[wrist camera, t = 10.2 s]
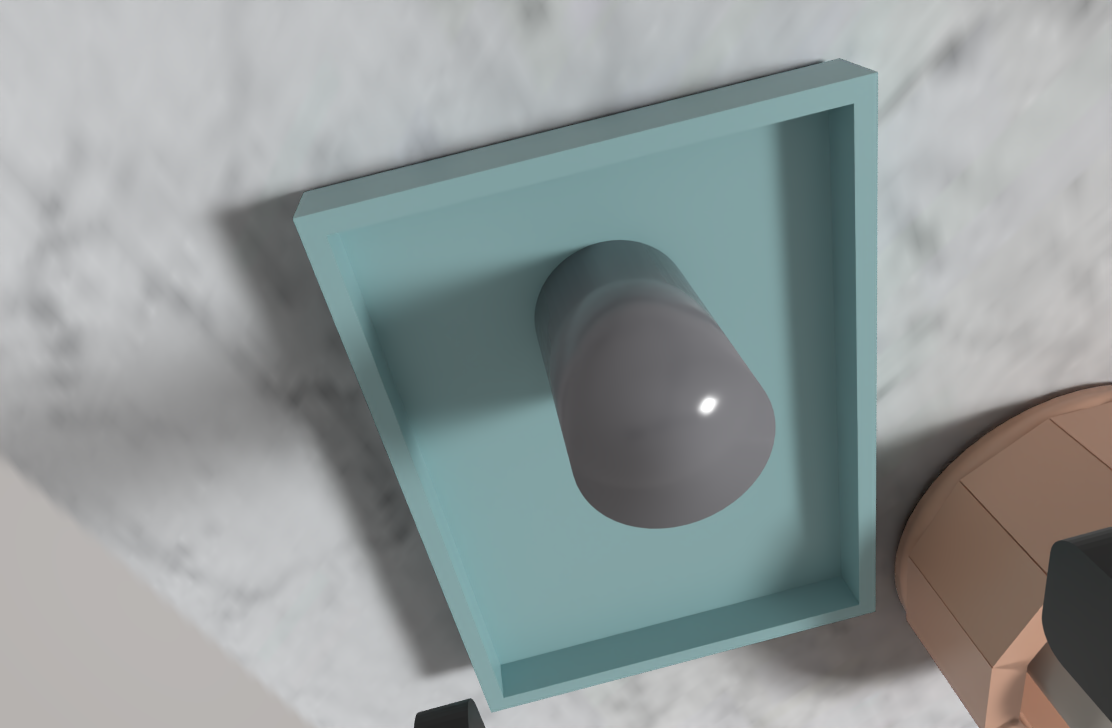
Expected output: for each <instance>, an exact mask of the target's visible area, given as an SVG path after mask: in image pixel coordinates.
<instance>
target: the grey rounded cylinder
mask: <svg viewBox="0 0 1112 728" xmlns="http://www.w3.org/2000/svg"><path fill="white" fill-rule="evenodd" d="M534 321H535V330H536V335H537V339H538V343H539V347H540V351H541V354H542V358H543V362H544V366H545V370H546V373H547V377H548V381H549V385H550V389H551V393H552V396H553V400H554V404H555V408H556V412H557V415H558V419H559V423H560V427H561V431H562V435H563V438H564V442H565V446H566V450H567V454H568V457H569V461H570V465H571V469H572V473H573V476H574V479H575V482H576V485H577V487H578V488H579V490H580V492H581V494H582V495H583V496H584V498H585V499H586V500H587V502H588V503H589V504H590V505H591V506H592V507H594V508H595V509H596V510H597V511H598V512H600V513H601V514H603V515H604V516H606V517H608V518H610V519H612V520H614V521H616V522H619V523H622V524H625V525H629V526H633V527H638V528H647V529H663V528H673V527H678V526H683V525H688V524H691V523H694V522H697V521H700V520H702V519H705V518H707V517H710V516H712V515H714V514H716V513H717V512H719V511H721V510H723V509H724V508H726V507H727V506H729V505H730V504H732V503H733V502H734V501H736V500H737V499H738V498H739V497H741V496H742V495H743V494H744V493H745V492H746V491H747V490H748V489H749V488H750V487H751V486H752V485H753V483H754V482H755V481H756V479H757V478H758V477H759V476H760V474H761V472H762V471H763V469H764V467H765V466H766V464H767V462H768V459H769V457H770V455H771V452H772V448H773V445H774V439H775V429H776V422H775V416H774V410H773V408H772V405H771V402H770V400H769V398H768V396H767V394H766V392H765V391H764V389H763V388H762V386H761V385H760V383H759V382H758V381H757V379H756V378H755V376H754V375H753V373H752V372H751V371H750V369H749V368H748V366H747V365H746V364H745V362H744V361H743V359H742V358H741V356H740V355H739V354H738V352H737V351H736V349H735V348H734V346H733V345H732V344H731V342H730V341H729V339H728V338H727V336H726V335H725V334H724V332H723V331H722V329H721V328H720V327H719V325H718V324H717V322H716V321H715V319H714V318H713V317H712V315H711V314H710V312H709V311H708V309H707V308H706V307H705V305H704V304H703V302H702V301H701V300H700V298H699V297H698V295H697V294H696V292H695V291H694V290H693V288H692V287H691V285H690V284H689V282H688V281H687V280H686V278H685V277H684V275H683V274H682V272H681V271H680V270H679V268H678V267H677V266H676V264H675V263H674V262H673V261H672V260H671V259H670V258H669V257H668V256H667V255H665V254H664V253H662V252H661V251H659V250H658V249H656V248H654V247H652V246H649V245H647V244H644V243H641V242H636V241H630V240H610V241H604V242H599V243H596V244H593V245H590V246H587V247H585V248H583V249H580V250H578V251H577V252H575V253H573V254H572V255H570V256H569V257H567V258H566V259H565V260H564V261H562V262H561V263H560V264H559V265H558V266H557V267H556V268H555V269H554V270H553V271H552V273H551V274H550V275H549V277H548V278H547V279H546V281H545V283H544V285H543V286H542V288H541V291H540V293H539V295H538V298H537V302H536V306H535V314H534Z"/></svg>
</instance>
